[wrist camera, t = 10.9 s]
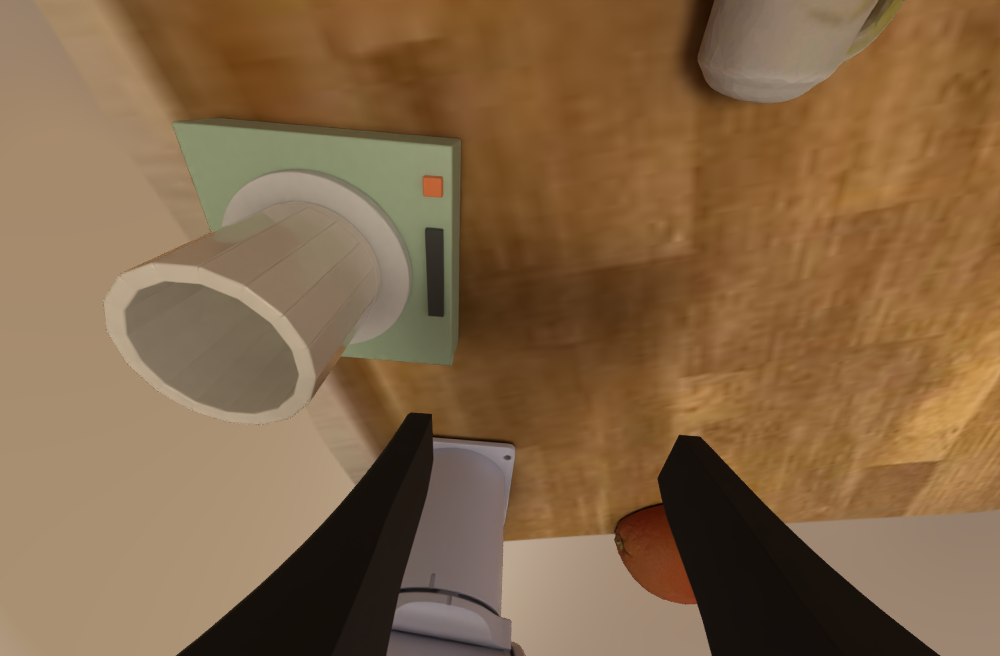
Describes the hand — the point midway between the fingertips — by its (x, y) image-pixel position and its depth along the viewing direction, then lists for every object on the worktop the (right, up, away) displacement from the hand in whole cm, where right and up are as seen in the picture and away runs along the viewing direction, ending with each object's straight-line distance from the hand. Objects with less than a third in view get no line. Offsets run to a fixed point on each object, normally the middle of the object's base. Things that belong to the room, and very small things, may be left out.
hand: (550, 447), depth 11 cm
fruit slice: (+11, -12, +14) cm, 22 cm away
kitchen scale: (-8, +8, +7) cm, 13 cm away
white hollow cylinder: (-9, +6, +4) cm, 12 cm away
